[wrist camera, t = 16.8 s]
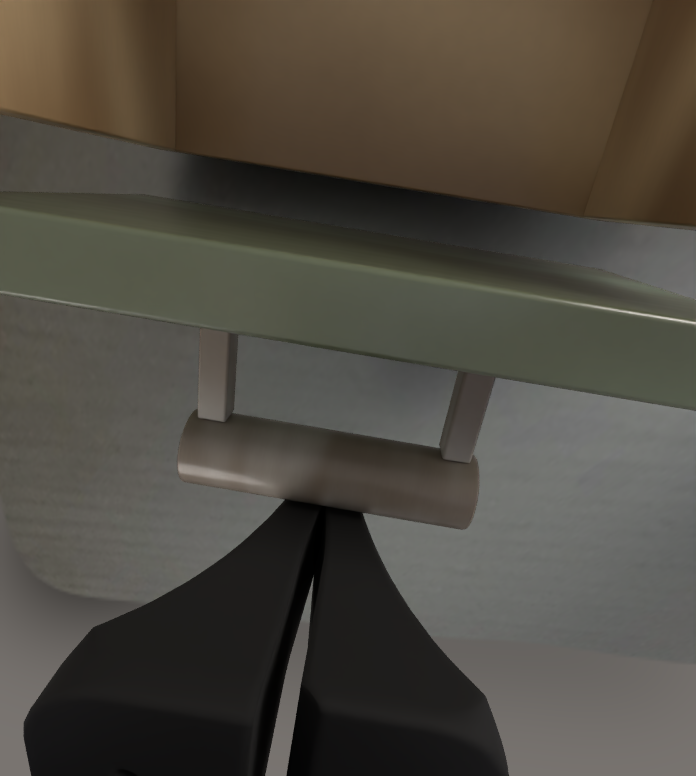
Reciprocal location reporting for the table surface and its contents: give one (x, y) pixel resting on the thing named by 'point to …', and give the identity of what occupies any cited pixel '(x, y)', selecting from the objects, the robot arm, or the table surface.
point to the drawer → (359, 247)
